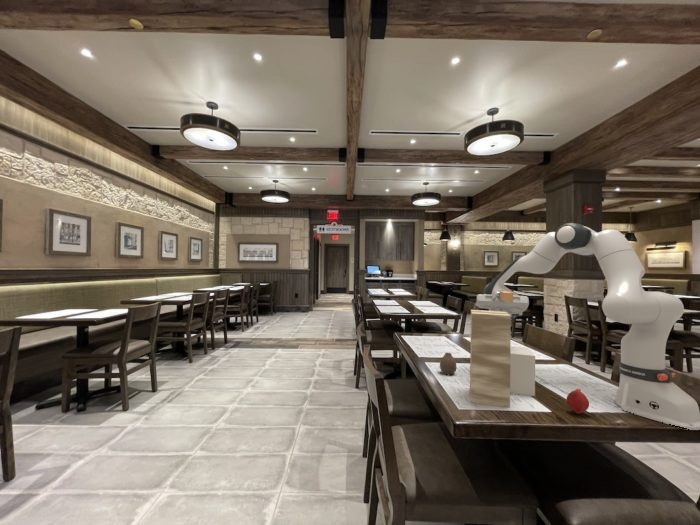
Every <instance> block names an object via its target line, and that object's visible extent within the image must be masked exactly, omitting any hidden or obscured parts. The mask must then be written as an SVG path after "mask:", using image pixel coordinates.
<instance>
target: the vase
mask: <svg viewBox="0 0 700 525" xmlns="http://www.w3.org/2000/svg"><path fill="white" fill-rule="evenodd" d="M439 368H440V371H441V373H442V374H443V373H444V374H443V375H446V374H452V375H454V374H455V373H456V370H457V361H456V359H455V358H454V356H453V355H452V353H451V352H445V353H444V355H443V356H442V357H441V359H440V361H439Z"/></svg>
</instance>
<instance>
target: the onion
mask: <svg viewBox="0 0 700 525" xmlns="http://www.w3.org/2000/svg"><path fill="white" fill-rule="evenodd" d="M566 404H567V406H568V408H569V409H570V410H572V411H573V413H575V414H577V415H580V414H582V413H584V412H586V411H587V410H588V409H589V408H590V401H589V399H588V397H587V396H586V395H585V394H584V393H583V392H582V391H581V389H580V387H577V388H575V390H572V391H570V392H569V393H568V394H567V396H566Z"/></svg>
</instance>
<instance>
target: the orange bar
mask: <svg viewBox="0 0 700 525" xmlns="http://www.w3.org/2000/svg"><path fill="white" fill-rule="evenodd" d="M498 292H500V293H499V294H500V296H499V297H498V298H500V299H502V300H504V301H513V293H512V292H509V291H502V290H498Z"/></svg>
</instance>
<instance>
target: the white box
mask: <svg viewBox="0 0 700 525" xmlns="http://www.w3.org/2000/svg"><path fill="white" fill-rule="evenodd" d="M510 394H513V395H514V394H515V395H521V396H529V397H536V355H535V354H534V353H533V351H531V350H530V349H529V347H521V346H520V347H519V346H511V345H510Z"/></svg>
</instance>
